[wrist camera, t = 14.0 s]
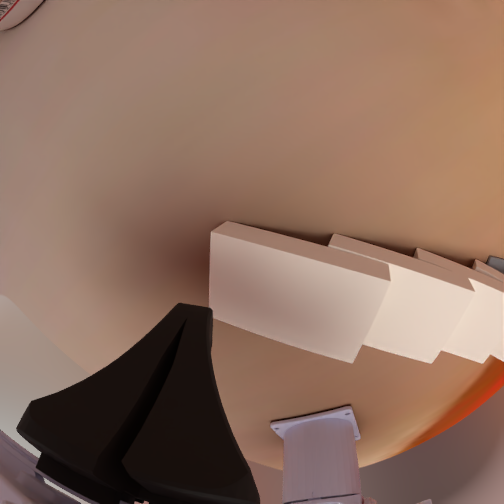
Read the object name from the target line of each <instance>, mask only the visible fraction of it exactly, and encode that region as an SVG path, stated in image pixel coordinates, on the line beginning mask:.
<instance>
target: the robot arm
mask: <svg viewBox="0 0 504 504" xmlns="http://www.w3.org/2000/svg"><path fill="white" fill-rule="evenodd" d="M212 329H213V310H212V309H211V308H208V307H202V306H196V305H190V304H184V303H178V304H177V305H176V306H175V307H174V308H173V309H172V310H171V311H170V312H169V313H168V314H167V315H166V316H165V317H164V318H163V319H162V320H161V321H160V322H159V323H158V324H157V325H156V326H155V327H154V328H153V329H152V330H151V331H150V332H149V333H148V334H146V335H145V336H144V337H143V338H142V339H141V340H140V341H139V342H137V343H136V344H135V345H134V346H133V347H132V348H130V349H129V350H128V351H127V352H125V353H124V354H123V355H122V356H120V357H119V358H118V359H116V360H115V361H113V362H112V363H110V364H109V365H108V366H106V367H105V368H103V369H101V370H100V371H98V372H96V373H95V374H93V375H92V376H90V377H88V378H86V379H84V380H83V381H81V382H79V383H76V384H74V385H72V386H70V387H68V388H66V389H64V390H61V391H59V392H57V393H54V394H51V395H48V396H45V397H42V398H39V399H36V400H33V401H31V403H30V404H29V406H28V407H27V409H26V411H25V413H24V414H23V416H22V418H21V420H20V422H19V424H18V426H17V428H16V429H17V432H18V433H19V434H20V435H21V436H22V437H23V438H24V439H26V440H27V441H28V442H29V443H30V444H32V445H33V446H34V447H35V448H36V449H38V450H39V451H40V452H42V453H41V455H40V458H37V457H36V456H34V455H33V454H32V453H30V452H29V451H27V450H26V449H24V448H23V447H22V446H20V445H19V444H18V443H16V442H15V441H14V440H12V439H11V438H10V437H9V436H7V435H6V434H5V433H4V432H3V431H1V430H0V504H81V503H80V502H78V501H76V500H75V499H73V498H71V497H70V496H68V495H66V494H64V493H62V492H60V491H59V490H56V489H55V488H53V487H51V486H49V485H48V484H46V483H45V482H44V478H46V479H47V480H49V481H50V482H52V483H54V484H56V485H57V486H59V487H60V488H62V489H64V490H66V491H68V492H69V493H71V494H73V495H75V496H77V497H79V498H80V499H83V500H84V501H87V502H88V503H91V504H134V502H135V501H136V502H139V503H144V501H147V502H149V504H260V497H259V493H258V490H257V487H256V484H255V482H254V479H253V476H252V473H251V470H250V467H249V466H248V464H247V462H246V460H245V458H244V456H243V454H242V452H241V450H240V448H239V446H238V444H237V442H236V440H235V437H234V435H233V433H232V430H231V428H230V425H229V422H228V420H227V417H226V414H225V412H224V409H223V406H222V403H221V399H220V396H219V392H218V389H217V385H216V380H215V376H214V371H213V365H212V359H211V347H212ZM270 427H271V428H272V429H273V430H274V431H275V432H276V433H277V434H278V435H279V436H280V437H281V438H282V439H283V440H284V466H283V501H282V504H377V502H376V500H373V499H371V497H368V498H365V499H364V497H363V496H362V495H361V485H360V475H359V467H358V459H357V451H356V444H355V441H356V440H359V439H360V438H361V436H360V433H359V429H358V426H357V423H356V419H355V416H354V413H353V410H352V407H351V406H346V407H342V408H338V409H335V410H331V411H327V412H322V413H318V414H314V415H309V416H304V417H299V418H294V419H288V420H282V421H276V422H272V423H270ZM43 477H44V478H43ZM417 504H432V500H431V499H428V500H425V501H423V502H420V503H417Z"/></svg>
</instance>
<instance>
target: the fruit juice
mask: <svg viewBox="0 0 504 504" xmlns="http://www.w3.org/2000/svg"><path fill="white" fill-rule="evenodd" d="M42 2H43V0H0V30H6V29H10V28H12V27H14V26H16V25H17V24H19V23H20V22H22V21H23V20H24V19H25V18H27V17H28V16H29V15H30V14H31V13H32V12H33V11H34V10H35V9H36V8H37V7H38V6H39V5H40V4H41V3H42Z"/></svg>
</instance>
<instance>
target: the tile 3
mask: <svg viewBox="0 0 504 504" xmlns="http://www.w3.org/2000/svg"><path fill="white" fill-rule="evenodd" d="M413 258H415V259H418V260H421V261H424V262H427V263H430V264H433V265H436V266H439V267H442V268H445V269H447V270H450V271H453V272H456V273H459V274H461V275H464V276H467V277H468V278H469V280H470V282H471V284H472V286H473V288H474V290H475V294H474V296H473V298H472V300H471V302H470V304H469V305H468V307H467V309H466V311H465V313H464V314H463V316H462V318H461V320H460V321H459V323H458V325H457V326H456V328H455V330H454V331H453V333H452V334H451V336H450V338H449V339H448V341H447V342H446V344H445V345H444V347H443V348H442V350H443V351H445V352H448V353H451V354H454V355H457V356H460V357H464V358H467V359H470V360H473V361H476V362H479V363H482V364H483V363H484V362H485V360H486V359H487V358H488V356H489V355H490V354H491V352H492V351H493V349H494V348H495V347H496V345H497V344H498V342H499V341H500V339H501V338H502V336H503V335H504V283H502V282H500V281H498V280H496V279H494V278H491V277H489V276H487V275H484V274H482V273H480V272H477V271H475V270H473V269H470V268H468V267H466V266H463V265H461V264H458V263H456V262H453V261H451V260H448V259H446V258H443V257H441V256H438V255H435V254H433V253H430V252H428V251H425V250H422V249H420V248H417V249H416V251H415V254H414V257H413Z"/></svg>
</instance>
